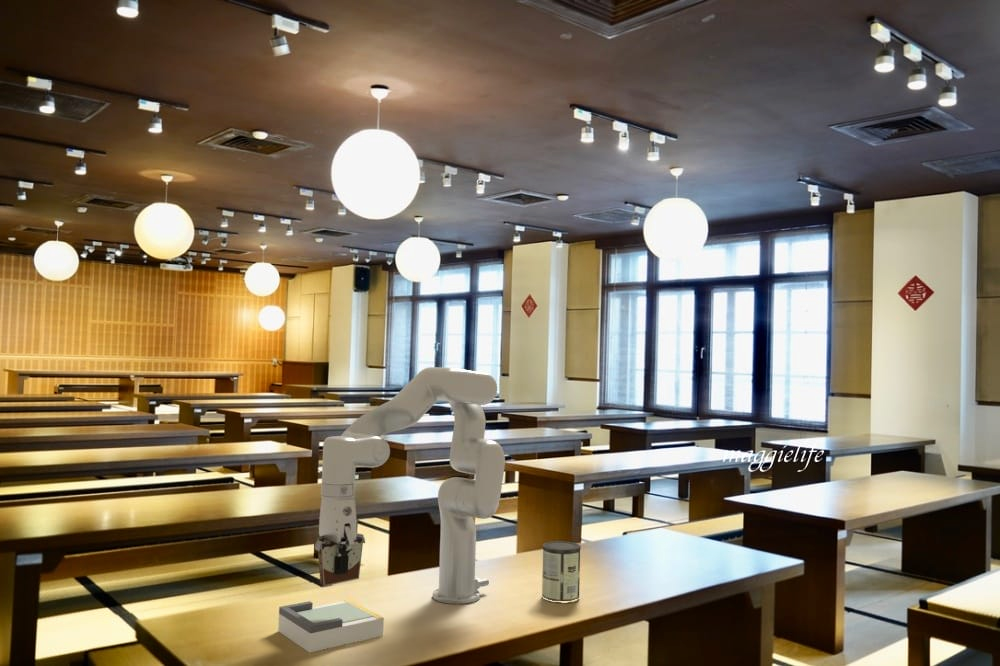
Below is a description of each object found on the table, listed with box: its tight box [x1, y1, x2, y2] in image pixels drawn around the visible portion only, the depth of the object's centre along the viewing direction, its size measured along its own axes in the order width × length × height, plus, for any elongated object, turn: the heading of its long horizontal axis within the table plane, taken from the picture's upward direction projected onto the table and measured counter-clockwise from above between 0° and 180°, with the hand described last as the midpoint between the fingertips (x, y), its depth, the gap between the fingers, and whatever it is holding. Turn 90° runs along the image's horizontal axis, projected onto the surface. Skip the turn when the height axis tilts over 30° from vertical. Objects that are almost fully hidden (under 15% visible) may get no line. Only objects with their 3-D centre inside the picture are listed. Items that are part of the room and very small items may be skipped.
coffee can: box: [541, 540, 582, 601], centre depth 209 cm, size 10×10×14 cm
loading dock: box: [277, 599, 385, 654], centre depth 176 cm, size 18×16×6 cm
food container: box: [314, 532, 366, 587], centre depth 178 cm, size 12×6×10 cm, turn 135°
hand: (334, 569), depth 177 cm, fingers closed on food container, 5 cm apart
